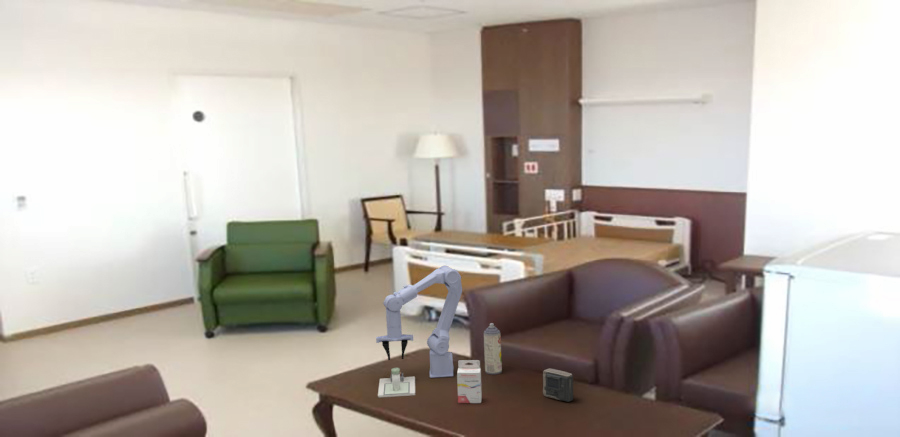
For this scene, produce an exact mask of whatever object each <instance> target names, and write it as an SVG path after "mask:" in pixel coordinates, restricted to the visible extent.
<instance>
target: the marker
mask: <svg viewBox="0 0 900 437" xmlns="http://www.w3.org/2000/svg"><path fill="white" fill-rule="evenodd" d="M390 370H391V374H392V384H393V390H394V391H398V390H400V389H401V386H400V372H401V368H400V367H393V368H391V369H390Z"/></svg>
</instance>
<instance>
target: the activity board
mask: <svg viewBox="0 0 900 437" xmlns="http://www.w3.org/2000/svg"><path fill="white" fill-rule="evenodd" d="M400 386H401V389H400V390H398V391H394V390H393V384H392V373H390V377H388V378H387V377H386V378H385V377H384V378H379V383H378V392H377V398H391V397H394V398H395V397H407V396H409V397H410V396H416V377H415V376H404V372H401V377H400Z"/></svg>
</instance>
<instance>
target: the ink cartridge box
mask: <svg viewBox="0 0 900 437" xmlns="http://www.w3.org/2000/svg"><path fill="white" fill-rule="evenodd" d="M457 362H458V363H457V364H458V365H457V366H458V368H457V372H456V373H457V374H456V381H457V385H456V386H457V403H458V404H481V403H482V398H483V397H482V396H483V395H482V368H481V360H478V359H472V360H471V359H467V360H462V359H461V360H460V359H459V360H458V361H457ZM468 363H469V364H468Z"/></svg>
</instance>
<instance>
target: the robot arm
mask: <svg viewBox="0 0 900 437" xmlns="http://www.w3.org/2000/svg"><path fill="white" fill-rule="evenodd" d="M434 284H440V285H441V284H443V285H445V287H446V289H447V291H448V292H447V294H446V298H445V301H444V303H443V306H442V309H441V313H440V316H439V319H438V321H437V325H436V327H435V328H433V330H432V333H431V334H430V336H429V337H428V338H427V341H426V345H427V347H428V348H429V367H430V368H429V371H428V372H429V378H433V379H434V378H447V377H454V370H455V369H454V367H455V366H454V363H453V362H454V360H453V352H451V351H449V348H450V344H449V343H450V339H451V338H450V333H449V332H450V330H451V327H452V323H453V320H454V317H455V314H456V312H457V309H458V306H459V304H460V303H459V302H460V299H461V296H462V293H463V285H462V276H461V274H460V273H459V271H458V270H456V269H455V268H452V267H450V266H448V265H441V266H440V267H439V268H435V270H433V271H432V272H431V273H429V274H427V276H425V277H424V278H423V279H420V280H419V281H418V282H416V283H414V284H413V285H412V284H408V285H407V284H404V286H403V287H402V288H401V289H399V290H398V291H394V292H393V293H392V294H389V295H387V296H385V298H384V300H383V303H382V304H383V305H384V307H385V317H386V318H385V321H386V335H381V336H376V337H375V342H376V344H379V343H382V344H381V345H382V347H383V349H384V350H385V353H386V356H387V360H388V361H391V352H390V342H391V343H392V342H401V345H400V346H401V360H404V358H405V357H404V356H405V352H406V349H407V346H408V343H409V342H408V341H411V342H413V341H414V334H405V333H404V334H403V330H402V317H401V315H402V314H401V309H402V307H403V306H404V305H406V304H407V303H410V302H411V301H413V300H415V299H416V298H417V297H418V293H419V292H422V291H423V290H425V289H427V288H429V287H430V286H433V285H434Z"/></svg>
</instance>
